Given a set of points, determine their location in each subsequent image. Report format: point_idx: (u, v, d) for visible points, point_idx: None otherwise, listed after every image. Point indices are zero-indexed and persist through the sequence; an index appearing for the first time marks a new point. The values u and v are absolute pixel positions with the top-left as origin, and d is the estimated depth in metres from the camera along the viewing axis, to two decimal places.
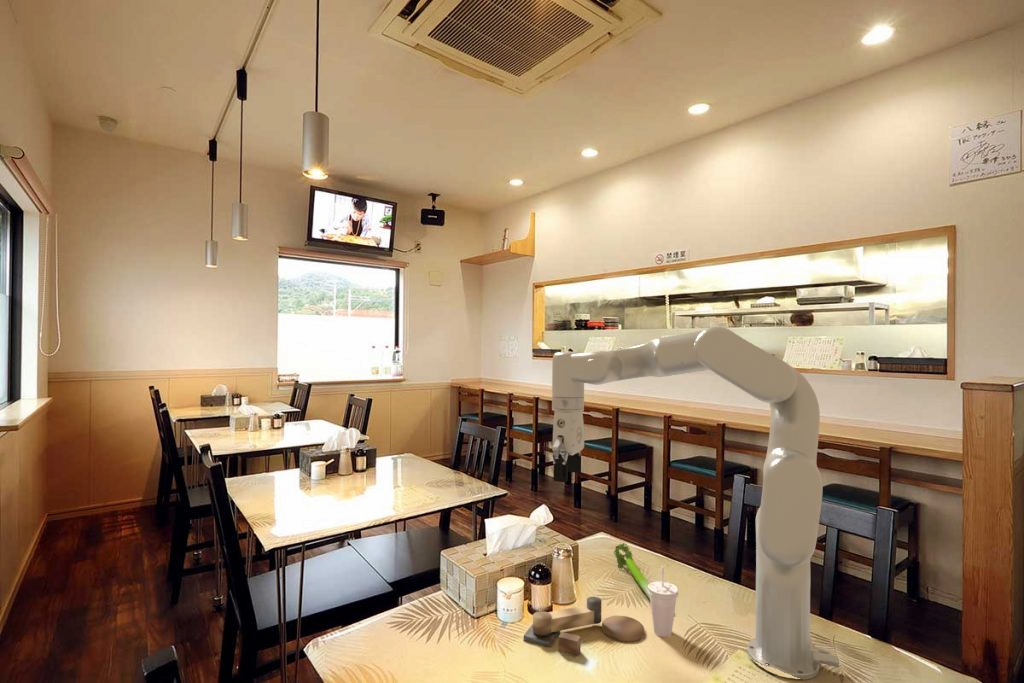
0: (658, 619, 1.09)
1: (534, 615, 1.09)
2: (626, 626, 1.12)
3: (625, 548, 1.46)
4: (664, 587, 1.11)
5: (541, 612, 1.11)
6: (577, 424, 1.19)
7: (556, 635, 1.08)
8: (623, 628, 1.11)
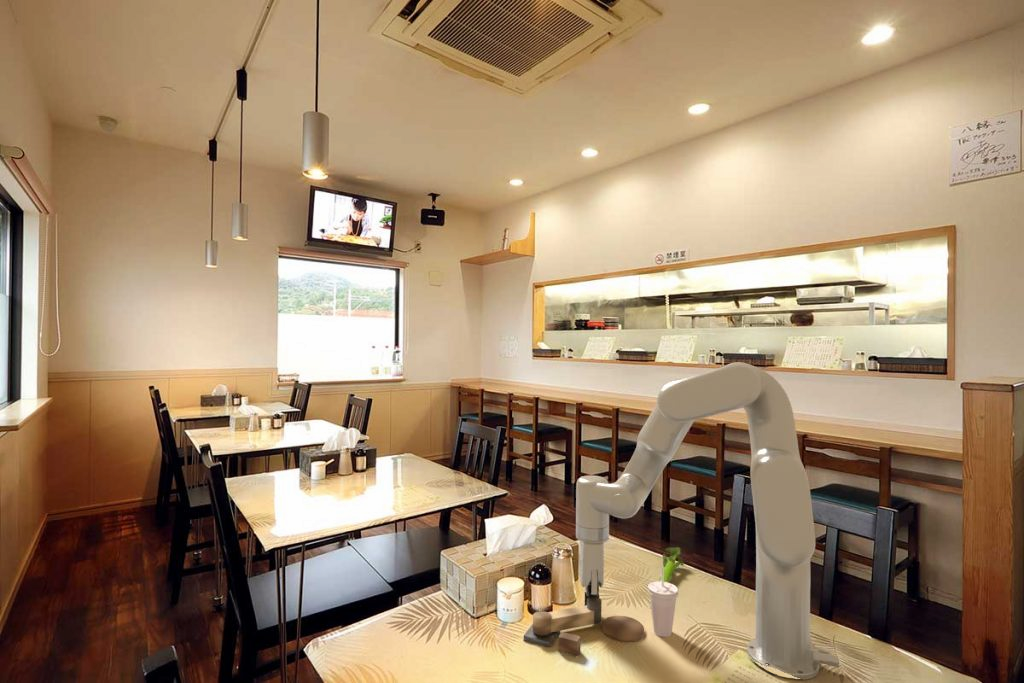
0: (658, 619, 1.09)
1: (534, 615, 1.09)
2: (626, 626, 1.12)
3: (675, 552, 1.43)
4: (664, 587, 1.11)
5: (541, 612, 1.11)
6: (579, 547, 1.19)
7: (556, 635, 1.08)
8: (623, 628, 1.11)
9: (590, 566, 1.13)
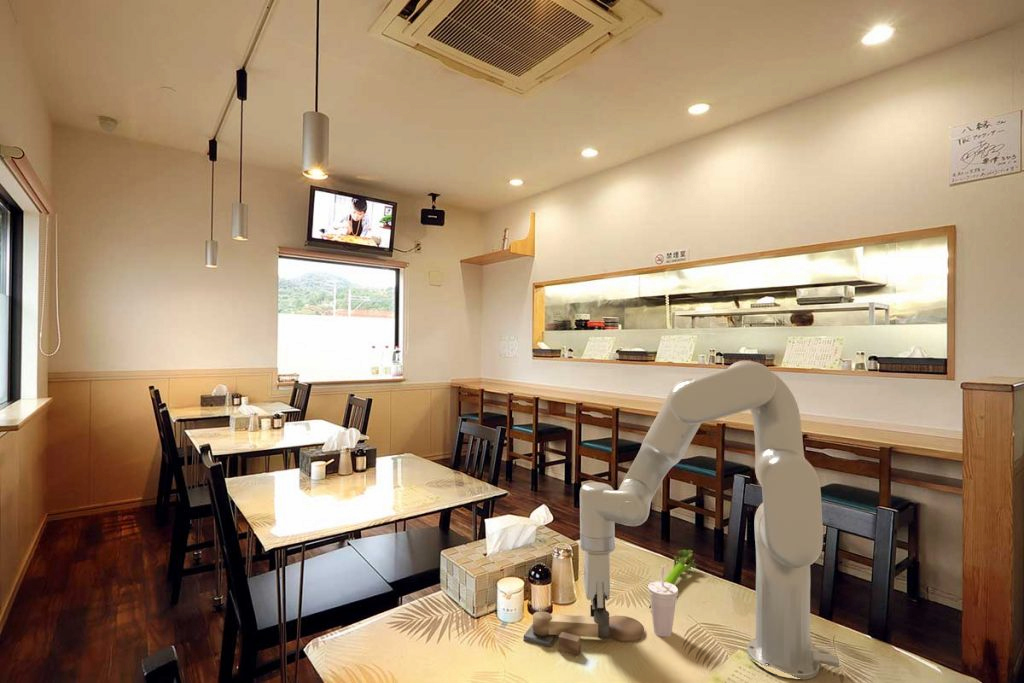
0: (658, 619, 1.09)
1: (535, 613, 1.10)
2: (626, 626, 1.12)
3: (686, 554, 1.42)
4: (664, 587, 1.11)
5: (544, 612, 1.11)
6: (584, 558, 1.14)
7: (556, 635, 1.08)
8: (623, 628, 1.11)
9: (595, 578, 1.08)
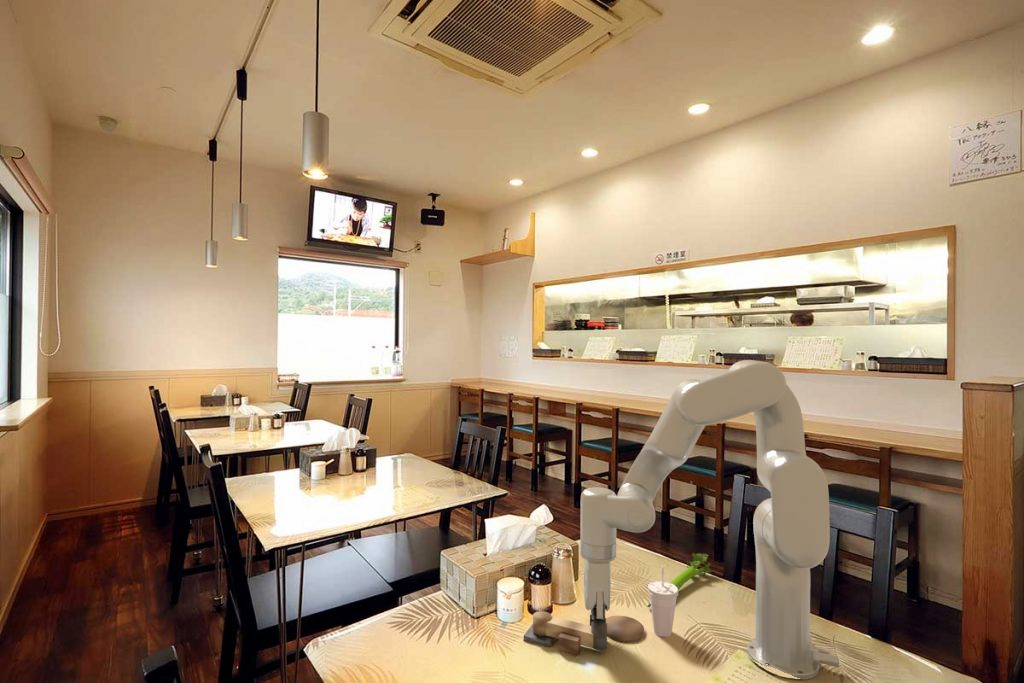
0: (658, 619, 1.09)
1: (537, 612, 1.11)
2: (626, 626, 1.12)
3: (701, 558, 1.39)
4: (664, 587, 1.11)
5: (546, 613, 1.10)
6: (584, 565, 1.10)
7: None
8: (623, 628, 1.11)
9: (595, 587, 1.03)
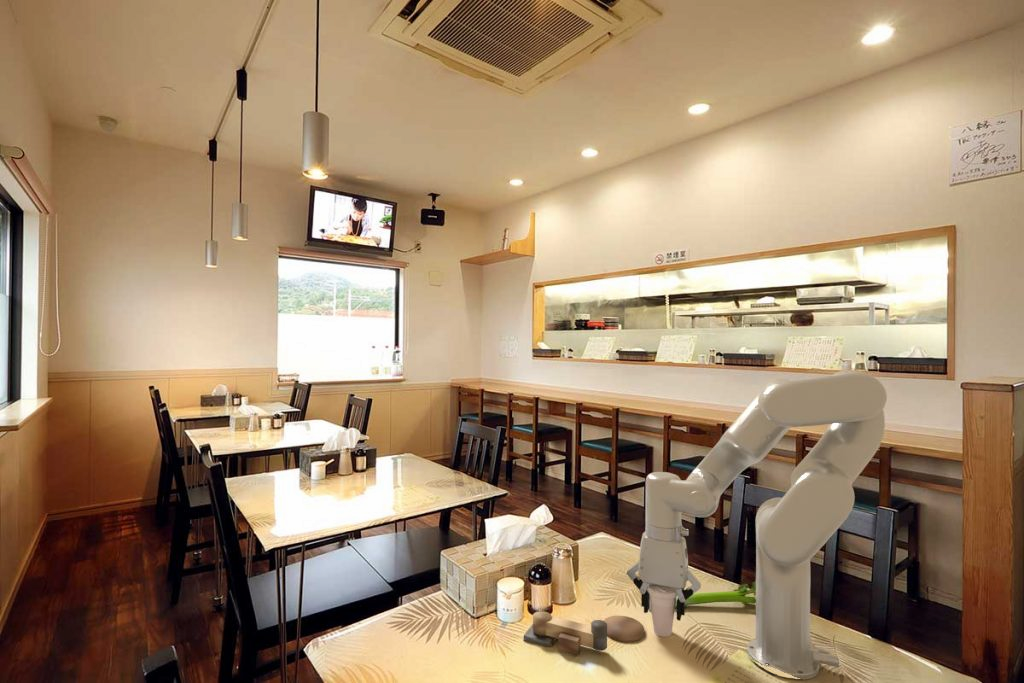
0: (658, 619, 1.09)
1: (537, 612, 1.11)
2: (626, 626, 1.12)
3: None
4: (664, 587, 1.11)
5: (546, 613, 1.10)
6: None
7: None
8: (623, 628, 1.11)
9: None
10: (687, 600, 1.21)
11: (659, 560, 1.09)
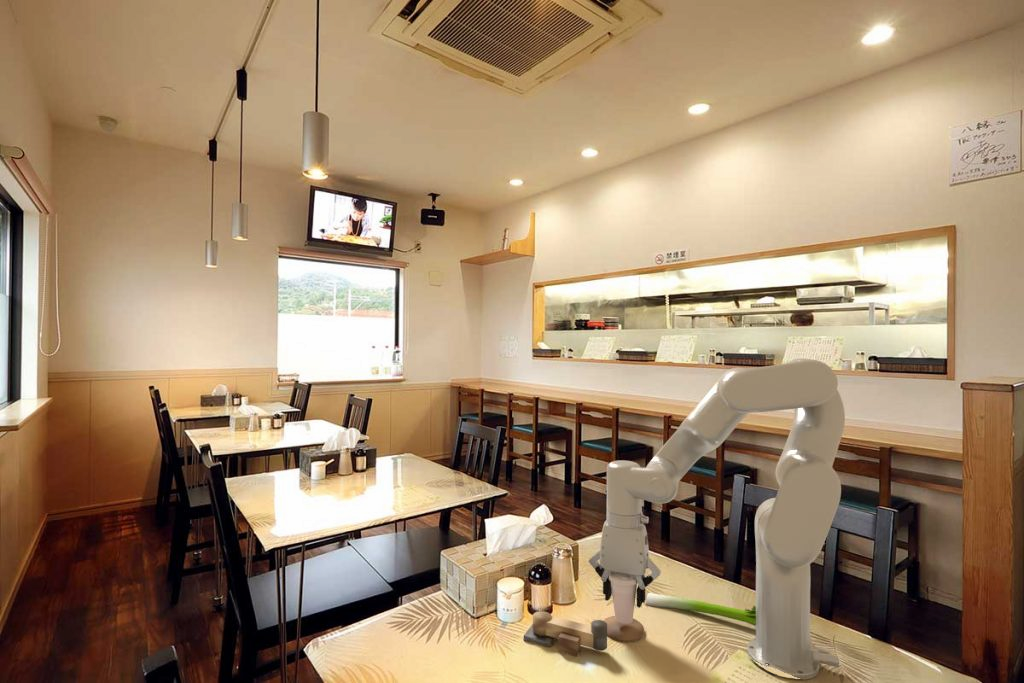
0: (619, 606, 1.10)
1: (537, 612, 1.11)
2: (626, 626, 1.12)
3: None
4: (625, 574, 1.12)
5: (546, 613, 1.10)
6: None
7: None
8: (623, 628, 1.11)
9: None
10: (687, 605, 1.19)
11: (619, 548, 1.10)
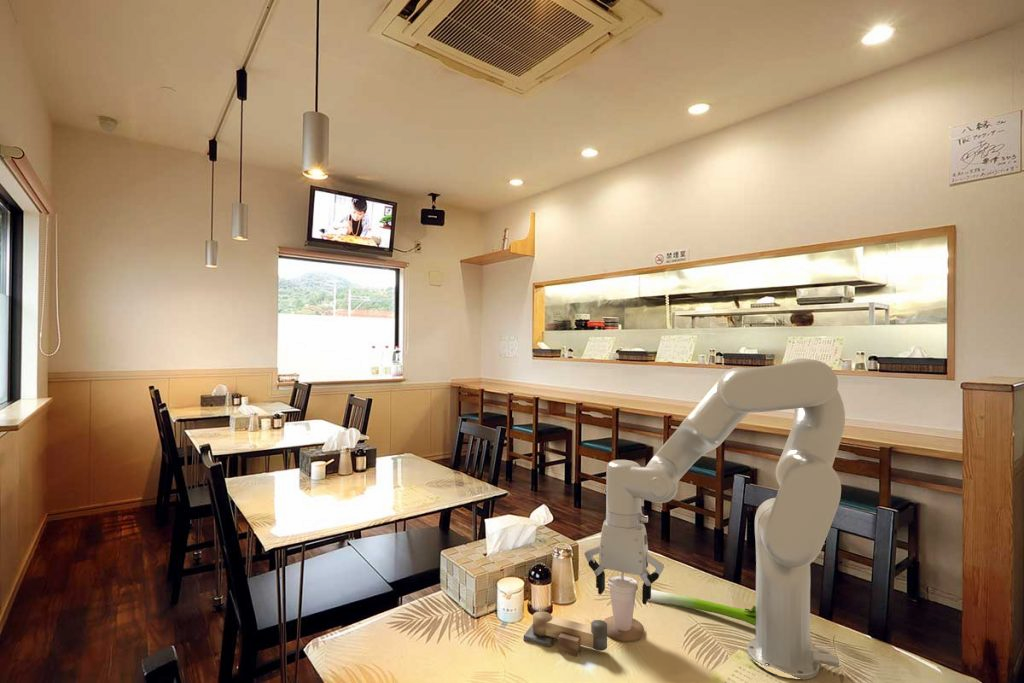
0: (618, 613, 1.10)
1: (537, 612, 1.11)
2: None
3: None
4: (624, 581, 1.12)
5: (546, 613, 1.10)
6: None
7: None
8: None
9: None
10: (687, 602, 1.20)
11: (619, 547, 1.10)
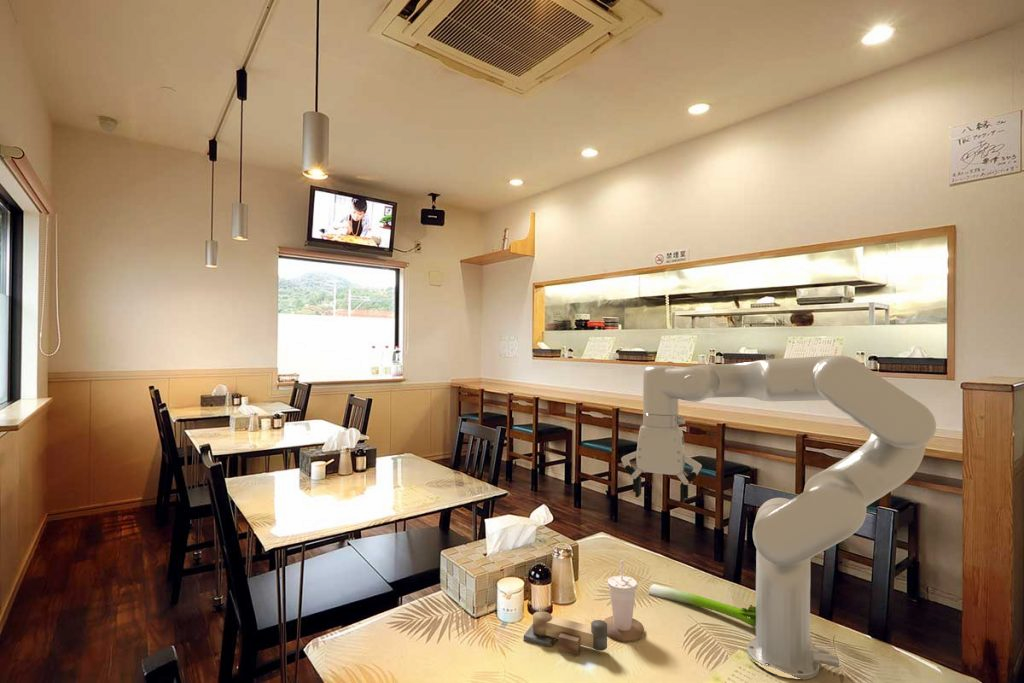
0: (617, 613, 1.10)
1: (537, 612, 1.11)
2: None
3: None
4: (623, 581, 1.12)
5: (546, 613, 1.10)
6: None
7: None
8: None
9: None
10: (686, 598, 1.22)
11: (656, 448, 1.12)
